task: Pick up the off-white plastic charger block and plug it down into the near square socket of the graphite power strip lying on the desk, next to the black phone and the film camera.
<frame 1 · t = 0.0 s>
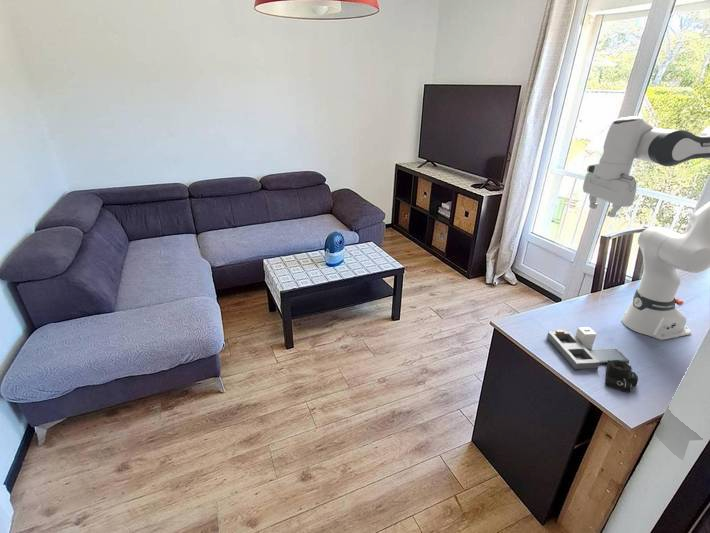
hand: (601, 212, 124), 48 cm above the table, fingers open, 8 cm apart
charger: (582, 345, 135), on the table
power strip: (570, 352, 132), on the table
film camera: (617, 379, 120), on the table
phone: (604, 357, 129), on the table
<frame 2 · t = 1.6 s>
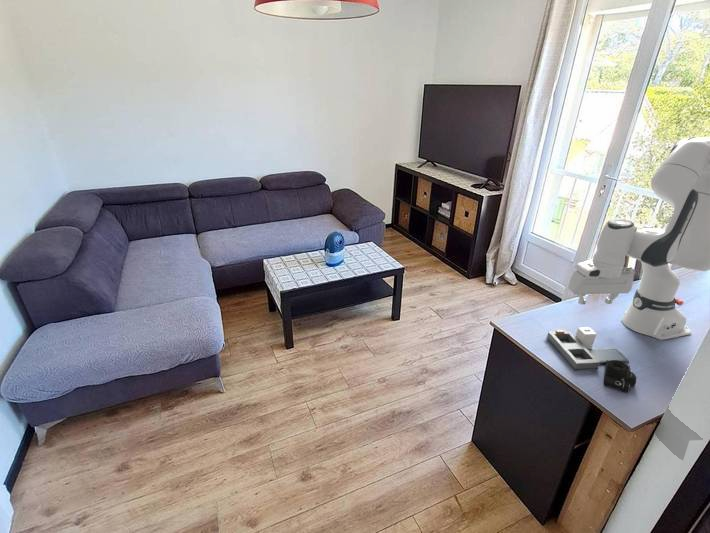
hand: (594, 303, 128), 18 cm above the table, fingers open, 8 cm apart
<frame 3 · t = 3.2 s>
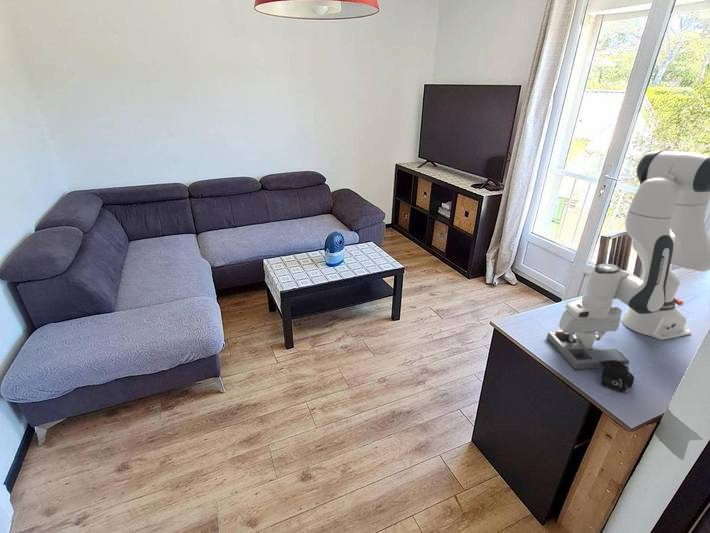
hand: (584, 340, 134), 2 cm above the table, fingers open, 8 cm apart
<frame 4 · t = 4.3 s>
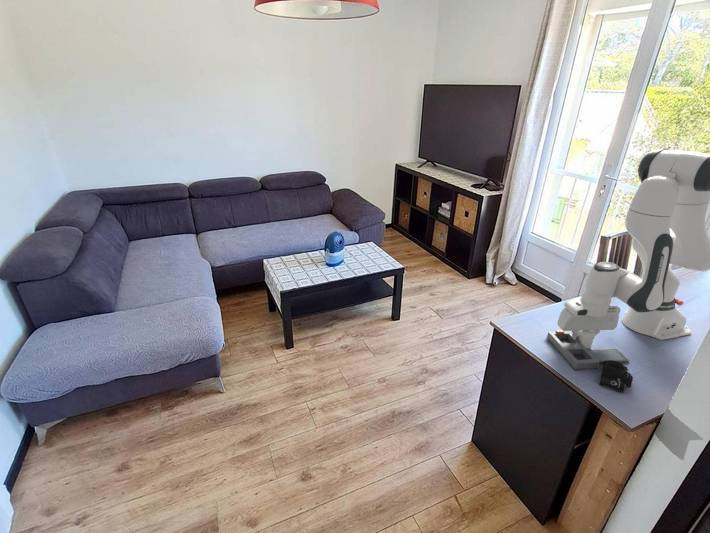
hand: (582, 338, 134), 3 cm above the table, fingers open, 4 cm apart
charger: (581, 344, 135), on the table, touching gripper
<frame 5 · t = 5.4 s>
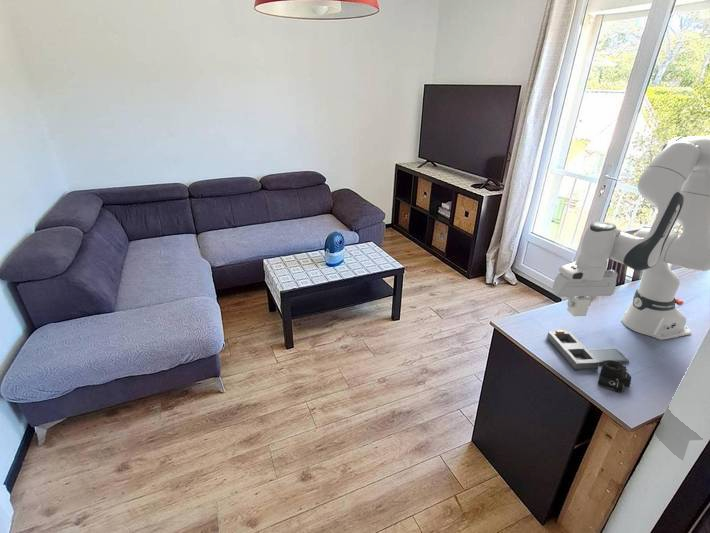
hand: (578, 305, 128), 17 cm above the table, fingers closed on charger, 4 cm apart
charger: (576, 312, 129), point 14 cm above the table, touching gripper
when the fingers open (4 cm above the table, at t = 7.6 s): charger stays where it is, resting on power strip.
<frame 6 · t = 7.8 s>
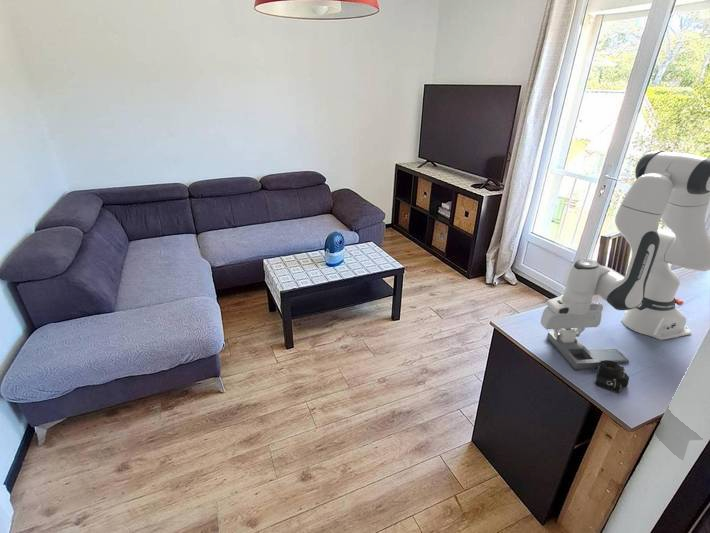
hand: (566, 336, 134), 4 cm above the table, fingers open, 6 cm apart
charger: (564, 343, 135), point 1 cm above the table, touching power strip
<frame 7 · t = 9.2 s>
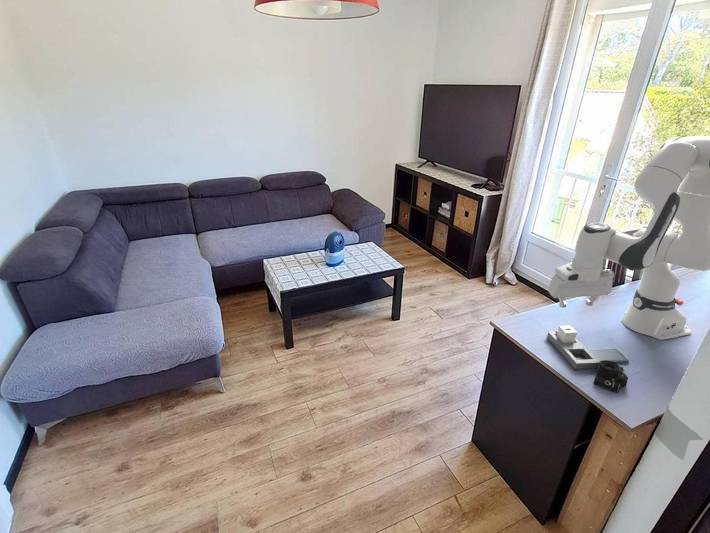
hand: (575, 305, 128), 17 cm above the table, fingers open, 8 cm apart
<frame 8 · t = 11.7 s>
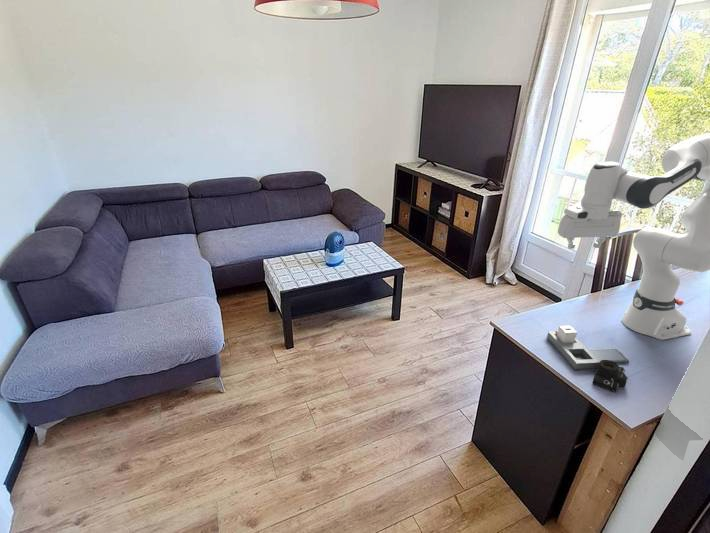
hand: (583, 247, 131), 34 cm above the table, fingers open, 8 cm apart
at the end: charger 0.0 cm from the target spot on the power strip, point 0.6 cm above the power strip's base; charger tilted 0° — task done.
